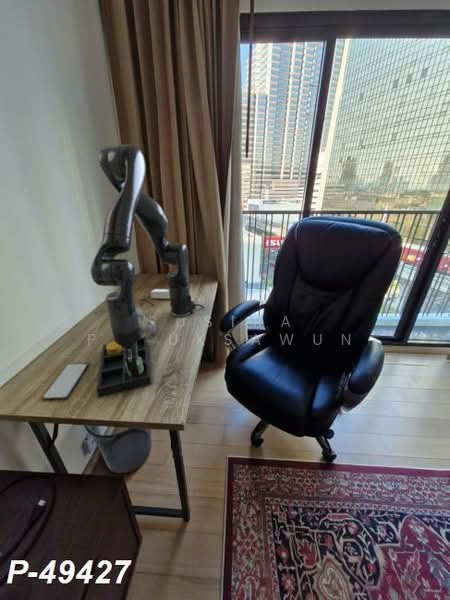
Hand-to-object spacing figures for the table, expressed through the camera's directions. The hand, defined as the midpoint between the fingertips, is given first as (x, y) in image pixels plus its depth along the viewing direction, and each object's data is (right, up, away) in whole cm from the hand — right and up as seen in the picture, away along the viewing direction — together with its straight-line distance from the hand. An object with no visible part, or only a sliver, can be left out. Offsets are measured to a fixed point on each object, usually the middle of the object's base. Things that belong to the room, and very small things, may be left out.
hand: (135, 369), depth 81 cm
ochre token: (-12, +3, +12) cm, 17 cm away
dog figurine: (-5, +9, +25) cm, 27 cm away
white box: (-3, +24, +55) cm, 61 cm away
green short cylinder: (0, 0, 0) cm, 0 cm away
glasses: (-18, +18, +44) cm, 50 cm away
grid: (-6, -1, +7) cm, 9 cm away
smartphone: (-22, -4, +1) cm, 23 cm away
